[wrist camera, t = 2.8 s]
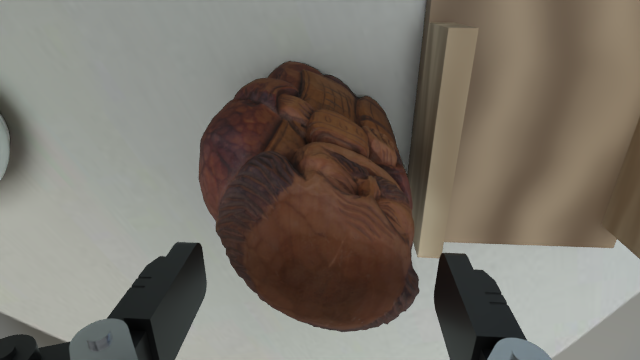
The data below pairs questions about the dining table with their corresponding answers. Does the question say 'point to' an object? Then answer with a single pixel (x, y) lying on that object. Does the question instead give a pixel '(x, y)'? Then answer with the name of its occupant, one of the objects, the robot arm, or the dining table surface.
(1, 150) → the lidded jar
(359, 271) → the wooden figurine
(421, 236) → the light wood shelf
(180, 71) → the dining table surface
